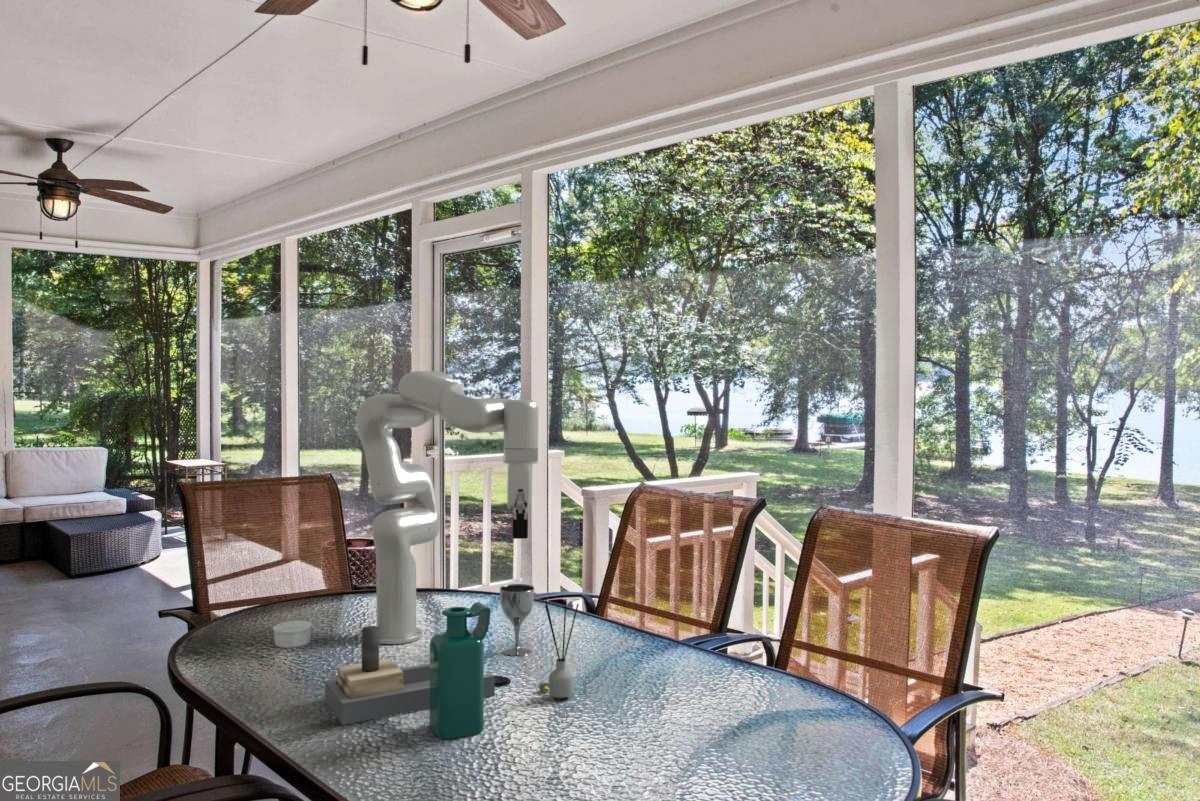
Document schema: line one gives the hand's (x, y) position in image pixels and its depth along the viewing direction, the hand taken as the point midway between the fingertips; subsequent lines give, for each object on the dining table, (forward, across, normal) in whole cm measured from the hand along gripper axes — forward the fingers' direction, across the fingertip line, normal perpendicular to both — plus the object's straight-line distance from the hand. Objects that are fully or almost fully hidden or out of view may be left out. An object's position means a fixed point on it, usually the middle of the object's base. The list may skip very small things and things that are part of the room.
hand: (520, 534), depth 187 cm
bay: (+30, +16, -21) cm, 40 cm away
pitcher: (+30, +32, -10) cm, 45 cm away
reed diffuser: (+30, +18, +7) cm, 36 cm away
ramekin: (+30, -23, -54) cm, 67 cm away
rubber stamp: (+29, +20, -29) cm, 45 cm away
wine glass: (+30, -12, -1) cm, 32 cm away
